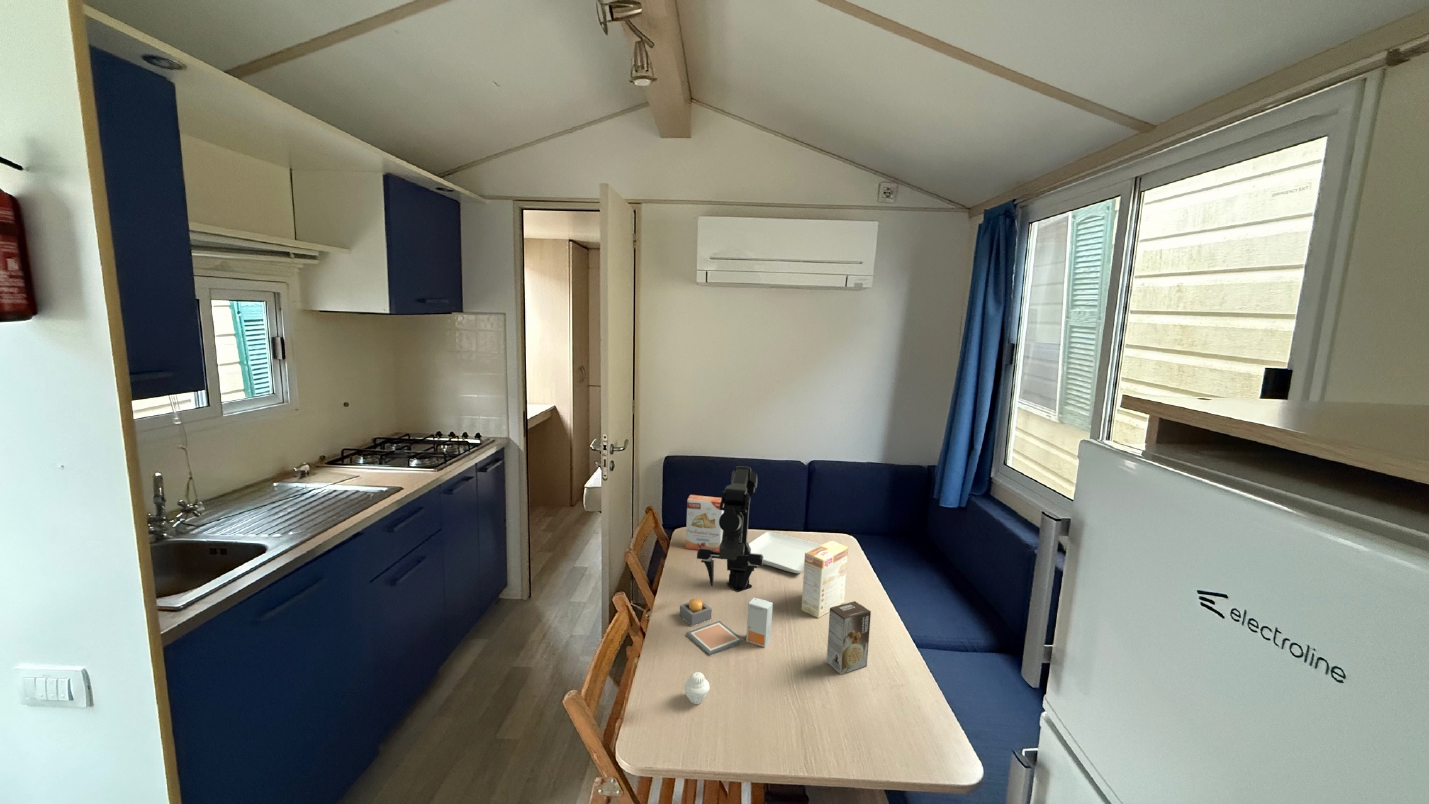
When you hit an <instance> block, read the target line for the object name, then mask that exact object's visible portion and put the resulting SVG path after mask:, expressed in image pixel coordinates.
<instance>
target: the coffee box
mask: <svg viewBox="0 0 1429 804" xmlns="http://www.w3.org/2000/svg"><path fill="white" fill-rule="evenodd" d="M871 612H872V611H871V610H869V609H868V608H866V607H865V606H863V604H860V603H859V602H857V601H855V600H853V601H851V602H847V603H843V604H841V605H839V606H835V607H831V608H830V611H829V617H828V619H829V620H828V631H827V632H828V635H827V652H826V663H827V665H829V666H830V667H832V668H833V669H834V670H835V671H836V672H838V673H839V675H844V674H847V673H850V672H853V671H857V670H858V669H861V668H864V667H865V668H866V667H867V665H868V656H869V642H870V628H871V618H872V617H871V616H872V613H871Z"/></svg>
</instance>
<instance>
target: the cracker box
mask: <svg viewBox="0 0 1429 804" xmlns="http://www.w3.org/2000/svg"><path fill="white" fill-rule="evenodd" d="M721 498H722V497H715V496H706V495H705V496H704V495H697V494H690V495H689V496H688V498H687V502H686V529H685V549H686V550H695V551H698V550H699V549H701V548H706V549H713V551H714V552H719V548H720V544H721V541H722V534H723V530H722V529H721V527H720V525H719V519H720V517H721V515H722V514H723V513H724V512H725V511H724V510H719V509H720V503H721ZM723 507H724V505H723Z"/></svg>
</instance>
